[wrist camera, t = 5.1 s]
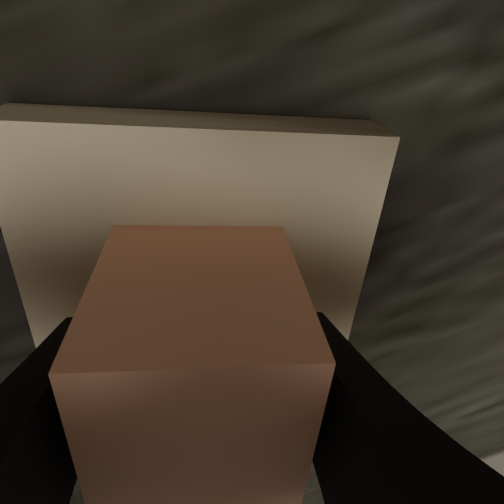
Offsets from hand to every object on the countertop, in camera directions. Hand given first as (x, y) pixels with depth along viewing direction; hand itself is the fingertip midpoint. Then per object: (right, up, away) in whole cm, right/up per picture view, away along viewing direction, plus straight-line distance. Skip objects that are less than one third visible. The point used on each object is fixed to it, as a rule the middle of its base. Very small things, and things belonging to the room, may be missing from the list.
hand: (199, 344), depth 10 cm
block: (0, +1, +2) cm, 2 cm away
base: (0, +2, +3) cm, 4 cm away
